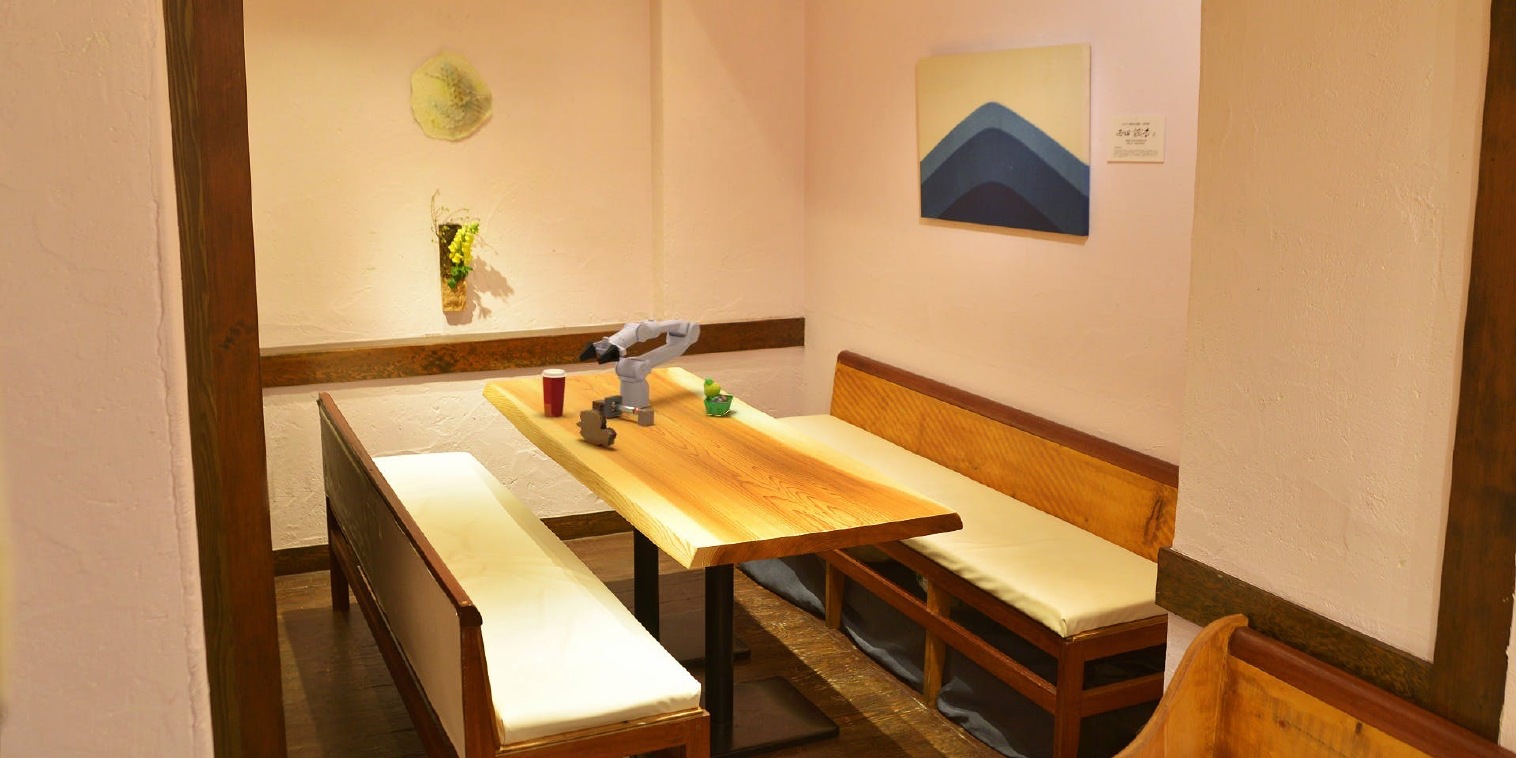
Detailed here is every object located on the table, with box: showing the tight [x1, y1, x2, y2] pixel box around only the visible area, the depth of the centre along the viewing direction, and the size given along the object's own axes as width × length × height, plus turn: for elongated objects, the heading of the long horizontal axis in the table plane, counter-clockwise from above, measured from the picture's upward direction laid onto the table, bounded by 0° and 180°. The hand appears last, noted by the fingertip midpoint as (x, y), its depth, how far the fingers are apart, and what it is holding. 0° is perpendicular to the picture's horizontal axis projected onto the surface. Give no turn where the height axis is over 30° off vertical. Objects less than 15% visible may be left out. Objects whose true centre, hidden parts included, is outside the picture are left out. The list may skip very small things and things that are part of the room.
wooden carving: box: [575, 409, 618, 447], centre depth 368 cm, size 16×5×10 cm, turn 48°
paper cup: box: [540, 368, 567, 418], centre depth 401 cm, size 8×8×14 cm
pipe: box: [591, 399, 655, 427], centre depth 399 cm, size 22×4×5 cm, turn 54°
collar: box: [603, 394, 623, 418], centre depth 402 cm, size 2×6×6 cm, turn 144°
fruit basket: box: [703, 377, 734, 417], centre depth 412 cm, size 11×9×11 cm
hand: (589, 360), depth 398 cm, fingers open, 7 cm apart
